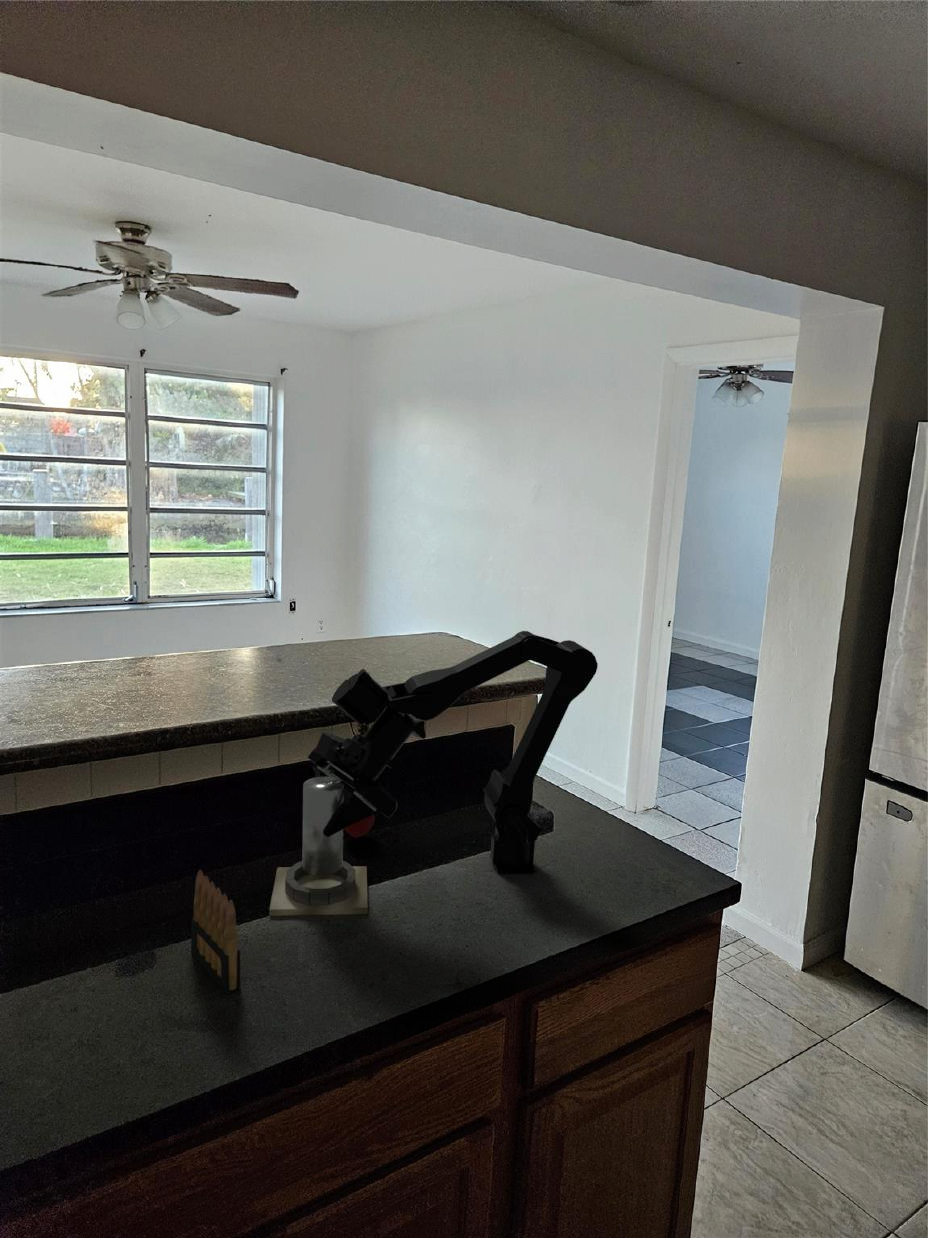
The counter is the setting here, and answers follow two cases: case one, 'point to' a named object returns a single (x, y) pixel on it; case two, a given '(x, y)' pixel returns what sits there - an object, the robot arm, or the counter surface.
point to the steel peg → (321, 825)
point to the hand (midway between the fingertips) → (314, 826)
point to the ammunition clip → (215, 934)
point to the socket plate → (319, 891)
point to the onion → (360, 827)
